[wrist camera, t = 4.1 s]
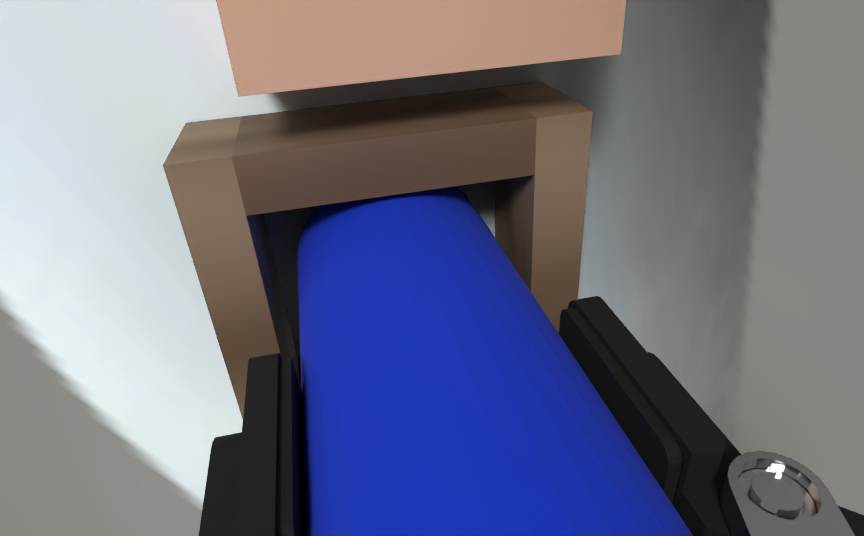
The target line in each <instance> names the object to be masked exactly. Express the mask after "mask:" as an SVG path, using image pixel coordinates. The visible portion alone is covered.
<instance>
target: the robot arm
mask: <svg viewBox="0 0 864 536" xmlns="http://www.w3.org/2000/svg"><path fill="white" fill-rule="evenodd" d="M559 335H560V336H561V338H562V339H563V341H564V342H565V344H566V345H567V347H568V348H569V350H570V351H571V353H572V354H573V356H574V357H575V359H576V360H577V362H578V363H579V365H580V366H581V368H582V369H583V371H584V372H585V374H586V375H587V377H588V378H589V380H590V381H591V383H592V384H593V386H594V387H595V389H596V390H597V392H598V393H599V395H600V396H601V398H602V399H603V401H604V402H605V404H606V405H607V407H608V408H609V410H610V411H611V413H612V414H613V416H614V417H615V419H616V420H617V422H618V423H619V425H620V426H621V428H622V429H623V431H624V432H625V434H626V435H627V437H628V439H629V440H630V442H631V443H632V445H633V446H634V448H635V449H636V451H637V452H638V454H639V455H640V457H641V458H642V460H643V461H644V463H645V464H646V466H647V467H648V469H649V470H650V472H651V473H652V475H653V476H654V478H655V479H656V481H657V482H658V484H659V485H660V487H661V488H662V490H663V491H664V493H665V494H666V496H667V497H668V499H669V500H670V502H671V503H672V505H673V506H674V508H675V509H676V511H677V512H678V514H679V515H680V517H681V518H682V520H683V521H684V523H685V524H686V526H687V527H688V529H689V530H690V532H691V533H692V535H693V536H864V515H861V514H858V513H856V512H853V511H850V510H847V509H845V508H842V507H840V506H838V505H837V504H836V502H835V500H834V499H833V497H832V495H831V493H830V492H829V490H828V489H827V487H826V486H825V485H824V483H823V482H822V481H821V479H820V478H819V477H818V476H817V475H815V474H814V473H813V472H812V471H811V470H809V469H808V468H807V467H805V466H804V465H802V464H800V463H798V462H797V461H795V460H793V459H791V458H788V457H786V456H783V455H779V454H777V453H772V452H764V451H755V452H747V453H744V454H742V455H741V454H740V453H739V451H738V450H737V449H736V448H735V447H734V446H733V444H732V443H731V442H730V441H729V440H728V439H727V437H726V436H725V435H724V434H723V433H722V432H721V430H720V429H719V428H718V427H717V426H716V425H715V424H714V422H713V421H712V420H711V419H710V418H709V417H708V415H707V414H706V413H705V412H704V411H703V410H702V408H701V407H700V406H699V405H698V404H697V403H696V401H695V400H694V399H693V398H692V397H691V396H690V394H689V393H688V392H687V391H686V390H685V389H684V387H683V386H682V385H681V384H680V383H679V382H678V380H677V379H676V378H675V377H674V376H673V375H672V373H671V372H670V371H669V370H668V369H667V368H666V366H665V365H664V364H663V363H662V362H661V361H660V359H658V358H657V357H656V356H655V355H654V354H652V353H649V352H646V350H645V349H644V348H643V347H642V346H641V345H640V343H639V342H638V341H637V340H636V339H635V337H634V336H633V335H632V334H631V333H630V331H629V330H628V329H627V328H626V327H625V326H624V324H623V323H622V322H621V321H620V320H619V318H618V317H617V316H616V315H615V314H614V312H613V311H612V310H611V309H610V308H609V307H608V305H607V304H606V303H605V302H604V301H603V299H601V298H600V297H598V296H595V297H589V298H584V299H578V300H572V301H570V302H569V304H568V309H563V310H562V311H561V314H560V326H559ZM199 536H306V516H305V485H304V454H303V423H302V396H301V392H300V387H299V383H298V379H297V375H296V371H295V366H294V363H293V360H292V358H291V359H286V360H282V358H281V355H280V353H275V354H270V355H264V356H259V357H253V358H249V361H248V369H247V381H246V392H245V404H244V415H243V427H242V432H241V433H236V434H231V435H226V436H221V437H216V438H215V439H214V441H213V443H212V448H211V454H210V461H209V468H208V475H207V482H206V489H205V496H204V503H203V510H202V517H201V524H200V531H199Z"/></svg>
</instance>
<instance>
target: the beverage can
mask: <svg viewBox="0 0 864 536" xmlns="http://www.w3.org/2000/svg"><path fill="white" fill-rule="evenodd" d="M297 267H298V298H299V329H300V360H301V392H302V423H303V454H304V485H305V516H306V536H693V535H692V533H691V532H690V530H689V529H688V527H687V526H686V524H685V523H684V521H683V520H682V518H681V517H680V515H679V514H678V512H677V511H676V509H675V508H674V506H673V505H672V503H671V502H670V500H669V499H668V497H667V496H666V494H665V493H664V491H663V490H662V488H661V487H660V485H659V484H658V482H657V481H656V479H655V478H654V476H653V475H652V473H651V472H650V470H649V469H648V467H647V466H646V464H645V463H644V461H643V460H642V458H641V457H640V455H639V454H638V452H637V451H636V449H635V448H634V446H633V445H632V443H631V442H630V440H629V439H628V437H627V435H626V434H625V432H624V431H623V429H622V428H621V426H620V425H619V423H618V422H617V420H616V419H615V417H614V416H613V414H612V413H611V411H610V410H609V408H608V407H607V405H606V404H605V402H604V401H603V399H602V398H601V396H600V395H599V393H598V392H597V390H596V389H595V387H594V386H593V384H592V383H591V381H590V380H589V378H588V377H587V375H586V374H585V372H584V371H583V369H582V368H581V366H580V365H579V363H578V362H577V360H576V359H575V357H574V356H573V354H572V353H571V351H570V350H569V348H568V347H567V345H566V344H565V342H564V341H563V339H562V338H561V336H560V335H559V333H558V332H557V330H556V329H555V327H554V326H553V324H552V323H551V321H550V320H549V318H548V317H547V315H546V314H545V312H544V311H543V309H542V308H541V306H540V305H539V303H538V302H537V300H536V299H535V297H534V296H533V294H532V293H531V291H530V290H529V288H528V287H527V285H526V284H525V282H524V281H523V279H522V278H521V276H520V275H519V273H518V272H517V270H516V269H515V267H514V266H513V264H512V263H511V261H510V260H509V258H508V257H507V255H506V254H505V252H504V251H503V249H502V248H501V246H500V245H499V243H498V242H497V240H496V239H495V237H494V236H493V234H492V233H491V231H490V230H489V228H488V227H487V225H486V224H485V222H484V221H483V219H482V218H481V216H480V215H479V213H478V212H477V210H476V209H475V207H474V206H473V204H472V203H471V202H470V200H469V199H468V198H467V196H466V195H465V194H464V193H463V192H462V191H461V190H459V189H458V188H457V187H456V186H453V187H446V188H439V189H432V190H425V191H418V192H411V193H404V194H397V195H390V196H383V197H376V198H369V199H362V200H355V201H347V202H340V203H333V204H326V205H319V206H316V207H315V209H314V210H313V212H312V213H311V214H310V216H309V217H308V219H307V221H306V223H305V226H304V228H303V230H302V233H301V237H300V240H299V244H298V255H297Z"/></svg>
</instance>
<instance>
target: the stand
mask: <svg viewBox="0 0 864 536" xmlns="http://www.w3.org/2000/svg"><path fill="white" fill-rule="evenodd" d="M216 1H217V6H218V10H219V15H220V19H221V23H222V28H223V32H224V36H225V41H226V45H227V49H228V54H229V58H230V62H231V67H232V71H233V76H234V80H235V84H236V89H237V93H238V97H239V96H248V95H257V94H266V93H275V92H284V91H293V90H302V89H311V88H320V87H329V86H338V85H347V84H356V83H365V82H374V81H383V80H392V79H401V78H410V77H419V76H428V75H437V74H446V73H455V72H464V71H473V70H483V69H492V68H501V67H510V66H519V65H528V64H537V63H546V62H555V61H564V60H573V59H582V58H591V57H600V56H609V55H618V54H621V47H622V38H623V28H624V18H625V8H626V0H216Z"/></svg>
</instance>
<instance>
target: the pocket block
mask: <svg viewBox="0 0 864 536" xmlns="http://www.w3.org/2000/svg"><path fill="white" fill-rule="evenodd" d="M592 117H593V111H592V110H590V109H588V108H587V107H585V106H583V105H581V104H580V103H578V102H576V101H574V100H573V99H571V98H569V97H567V96H566V95H564V94H562V93H561V92H559V91H557V90H555V89H554V88H552V87H550V86H548V85H547V84H545V83H543V82H535V83H527V84H518V85H510V86H501V87H492V88H484V89H475V90H466V91H458V92H449V93H441V94H432V95H423V96H415V97H406V98H397V99H389V100H380V101H372V102H363V103H354V104H346V105H337V106H329V107H320V108H311V109H303V110H294V111H285V112H277V113H268V114H260V115H251V116H242V117H234V118H225V119H216V120H208V121H199V122H191V123H186V124H185V126H184V128H183V129H182V131H181V133H180V135H179V137H178V139H177V140H176V142H175V144H174V146H173V148H172V150H171V152H170V153H169V155H168V157H167V159H166V161H165V163H164V164H163V167H164V170H165V173H166V176H167V180H168V183H169V186H170V189H171V192H172V196H173V199H174V202H175V205H176V208H177V211H178V215H179V218H180V221H181V224H182V227H183V231H184V234H185V237H186V240H187V243H188V246H189V250H190V253H191V256H192V259H193V262H194V266H195V269H196V272H197V275H198V278H199V281H200V285H201V288H202V291H203V294H204V297H205V300H206V304H207V307H208V310H209V313H210V316H211V320H212V323H213V326H214V329H215V332H216V335H217V339H218V342H219V345H220V348H221V351H222V355H223V358H224V361H225V364H226V367H227V370H228V374H229V377H230V380H231V383H232V386H233V389H234V393H235V396H236V399H237V402H238V405H239V409H240V412H241V415H242V418H243V415H244V404H245V392H246V381H247V369H248V361H249V358H253V357H259V356H264V355H270V354H275V353H280V355H281V358H282V360H286V359H291V358H292V360H293V363H294V366H295V371H296V375H297V379H298V383H299V387H300V392H301V362H298V359H297V354H296V350H295V346H294V341H293V337H292V333H291V328H290V324H289V320H288V315H287V311H286V307H285V302H284V298H283V294H282V289H281V285H280V281H279V276H278V272H277V268H276V263H275V259H274V255H273V250H272V246H271V241H270V237H269V233H268V228H267V224H266V220H265V215H264V213H270V212H277V211H284V210H291V209H298V208H305V207H312V206H319V205H326V204H333V203H340V202H347V201H355V200H362V199H369V198H376V197H383V196H390V195H397V194H404V193H411V192H418V191H425V190H432V189H439V188H446V187H453V186H460V185H467V184H474V183H481V182H489V181H495V239H496V240H497V242H498V243H499V245H500V246H501V248H502V249H503V251H504V252H505V254H506V255H507V257H508V258H509V260H510V261H511V263H512V264H513V266H514V267H515V269H516V270H517V272H518V273H519V275H520V276H521V278H522V279H523V281H524V282H525V284H526V285H527V287H528V288H529V290H530V291H531V293H532V294H533V296H534V297H535V299H536V300H537V302H538V303H539V305H540V306H541V308H542V309H543V311H544V312H545V314H546V315H547V317H548V318H549V320H550V321H551V323H552V324H553V326H554V327H555V329H556V330H557V332H558V333H559V326H560V314H561V311H562V310H563V309H568V304H569V302H570V301H572V300H577V298H578V286H579V274H580V262H581V250H582V238H583V226H584V213H585V201H586V189H587V177H588V165H589V153H590V141H591V129H592ZM301 396H302V392H301Z"/></svg>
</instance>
